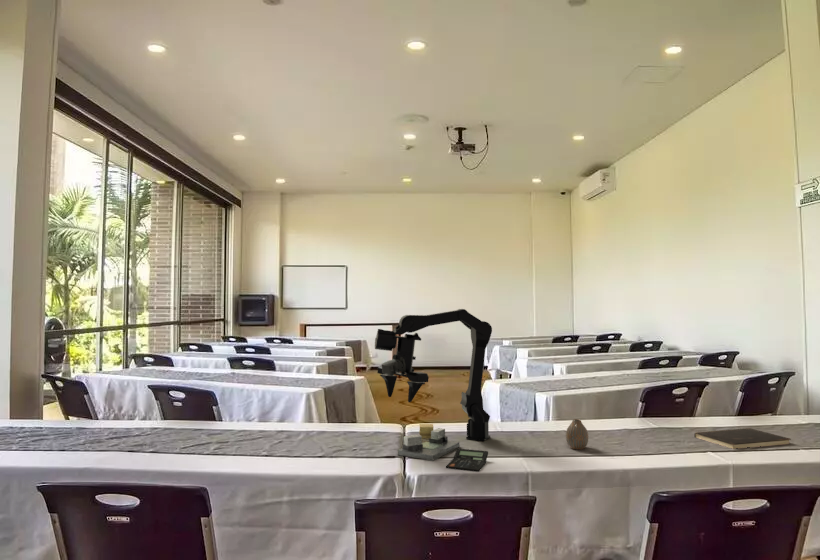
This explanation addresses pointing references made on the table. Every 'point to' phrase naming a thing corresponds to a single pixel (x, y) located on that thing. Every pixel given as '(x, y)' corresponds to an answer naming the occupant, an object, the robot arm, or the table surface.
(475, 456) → the calculator
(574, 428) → the vase
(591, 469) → the table surface
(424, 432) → the tan cube
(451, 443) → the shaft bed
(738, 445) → the hardcover book
